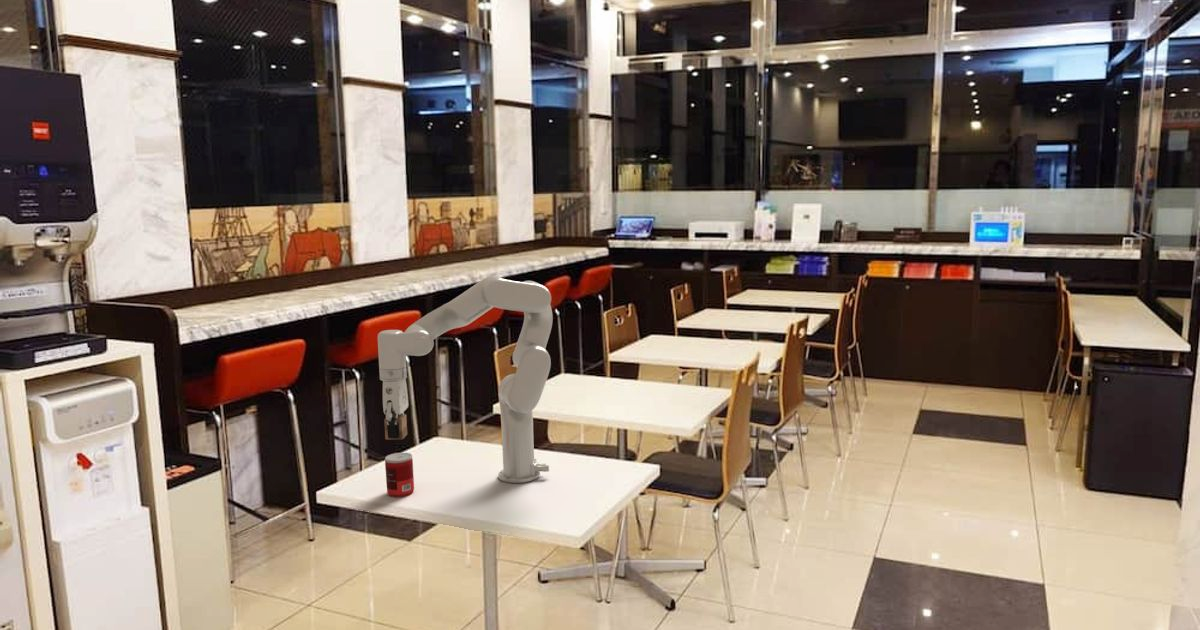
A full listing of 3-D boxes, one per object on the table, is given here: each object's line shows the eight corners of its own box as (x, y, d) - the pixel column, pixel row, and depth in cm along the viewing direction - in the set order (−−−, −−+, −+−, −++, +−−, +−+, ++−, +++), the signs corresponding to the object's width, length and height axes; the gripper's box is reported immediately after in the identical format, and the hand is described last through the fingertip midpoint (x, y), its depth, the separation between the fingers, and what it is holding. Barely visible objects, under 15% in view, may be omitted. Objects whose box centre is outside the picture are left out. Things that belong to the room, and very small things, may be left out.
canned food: (417, 488, 254) (415, 452, 253) (409, 498, 246) (407, 461, 245) (392, 487, 255) (390, 452, 253) (383, 497, 247) (380, 460, 246)
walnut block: (407, 434, 250) (406, 414, 250) (402, 439, 246) (401, 419, 245) (390, 434, 251) (389, 414, 250) (385, 439, 246) (384, 419, 245)
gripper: (398, 380, 237) (401, 443, 239) (413, 367, 254) (416, 426, 256) (371, 380, 237) (374, 444, 240) (388, 367, 254) (392, 426, 257)
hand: (396, 434), depth 248 cm, fingers closed on walnut block, 5 cm apart
